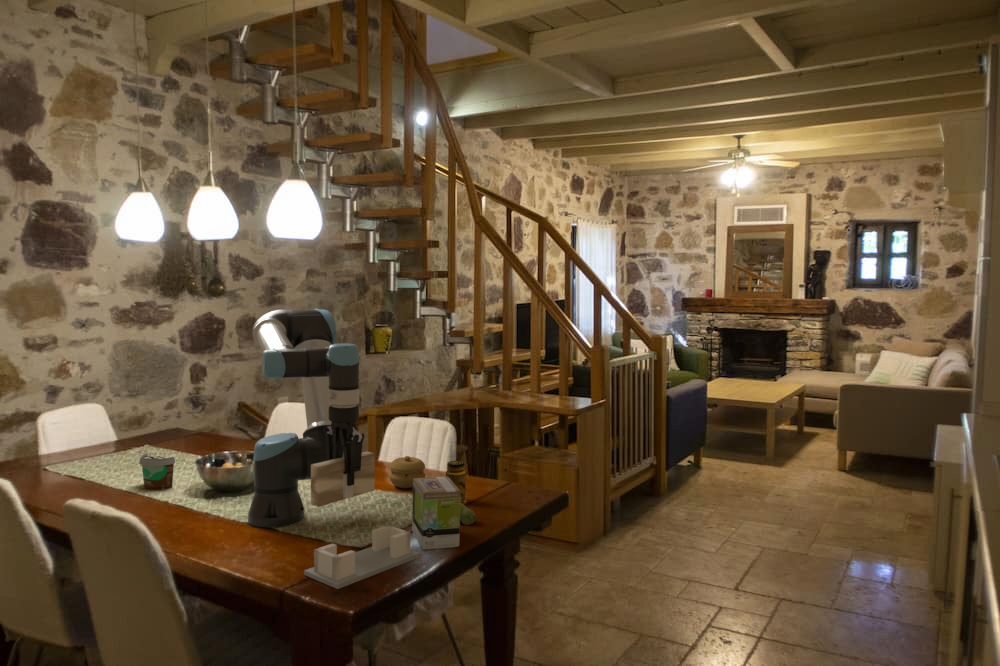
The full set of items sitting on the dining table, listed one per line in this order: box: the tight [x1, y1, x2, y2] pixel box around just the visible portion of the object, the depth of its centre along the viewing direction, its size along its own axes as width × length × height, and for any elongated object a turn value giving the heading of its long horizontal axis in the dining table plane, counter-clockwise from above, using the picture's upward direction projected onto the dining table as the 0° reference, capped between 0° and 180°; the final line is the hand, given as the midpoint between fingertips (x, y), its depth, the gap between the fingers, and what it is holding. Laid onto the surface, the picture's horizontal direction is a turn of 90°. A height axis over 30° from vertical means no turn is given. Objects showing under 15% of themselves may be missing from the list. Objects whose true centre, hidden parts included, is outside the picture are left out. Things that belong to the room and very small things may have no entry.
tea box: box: [411, 476, 461, 551], centre depth 193 cm, size 15×10×15 cm
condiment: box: [445, 460, 467, 503], centre depth 226 cm, size 7×8×12 cm
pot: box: [388, 455, 426, 489], centre depth 242 cm, size 12×12×10 cm
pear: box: [460, 503, 478, 526], centre depth 208 cm, size 6×5×10 cm
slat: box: [310, 451, 376, 507], centre depth 190 cm, size 3×18×10 cm, turn 141°
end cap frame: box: [303, 524, 421, 590], centre depth 175 cm, size 12×25×6 cm, turn 141°
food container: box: [138, 453, 176, 491], centre depth 236 cm, size 12×6×10 cm, turn 68°
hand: (343, 495), depth 190 cm, fingers closed on slat, 3 cm apart
